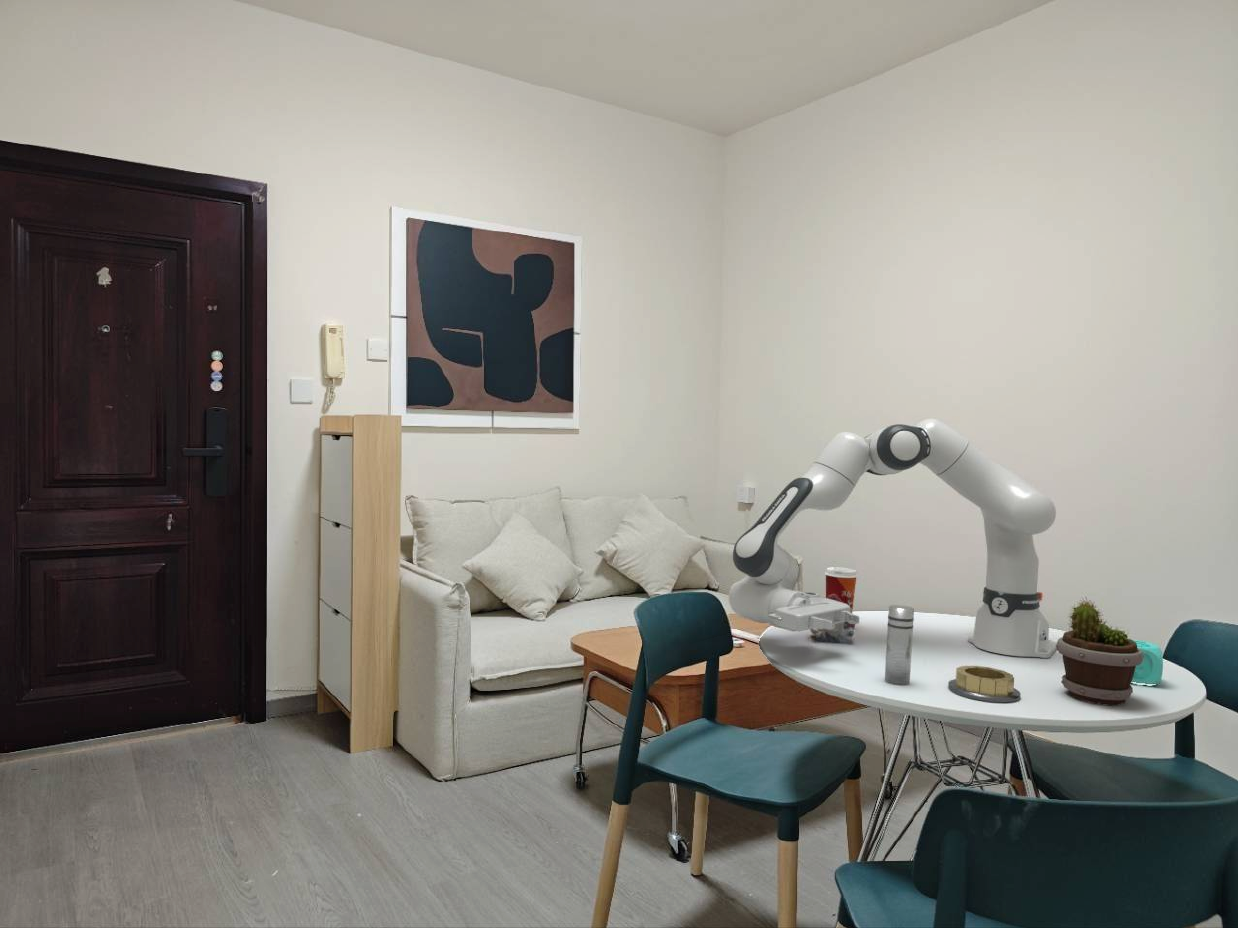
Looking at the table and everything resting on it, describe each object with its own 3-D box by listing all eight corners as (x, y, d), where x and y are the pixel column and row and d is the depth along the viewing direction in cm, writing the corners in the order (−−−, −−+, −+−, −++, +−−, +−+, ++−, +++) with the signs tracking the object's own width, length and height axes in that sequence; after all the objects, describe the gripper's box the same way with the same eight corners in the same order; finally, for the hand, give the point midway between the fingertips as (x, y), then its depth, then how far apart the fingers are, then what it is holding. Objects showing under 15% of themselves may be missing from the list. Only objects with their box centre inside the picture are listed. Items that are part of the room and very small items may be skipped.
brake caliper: (852, 624, 211) (857, 592, 204) (855, 660, 203) (861, 628, 195) (805, 621, 213) (809, 588, 205) (806, 656, 205) (810, 624, 197)
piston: (892, 676, 175) (896, 604, 175) (914, 682, 172) (918, 608, 171) (879, 680, 172) (883, 606, 171) (902, 686, 168) (906, 611, 168)
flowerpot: (1108, 686, 175) (1115, 590, 174) (1157, 711, 160) (1165, 605, 159) (1038, 684, 175) (1045, 587, 174) (1080, 708, 159) (1088, 602, 158)
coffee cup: (849, 633, 213) (852, 573, 212) (817, 627, 217) (820, 569, 216) (858, 627, 220) (862, 569, 219) (827, 622, 224) (830, 565, 224)
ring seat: (966, 678, 176) (967, 660, 176) (1031, 694, 167) (1032, 675, 167) (936, 689, 167) (937, 670, 167) (1003, 707, 158) (1004, 687, 158)
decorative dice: (1152, 678, 183) (1155, 641, 183) (1161, 688, 176) (1164, 650, 175) (1110, 673, 186) (1112, 637, 186) (1117, 683, 178) (1119, 645, 178)
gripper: (763, 600, 183) (818, 613, 173) (817, 592, 197) (871, 603, 187) (761, 629, 183) (816, 644, 173) (816, 619, 197) (869, 631, 187)
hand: (845, 622), depth 180 cm, fingers open, 8 cm apart
